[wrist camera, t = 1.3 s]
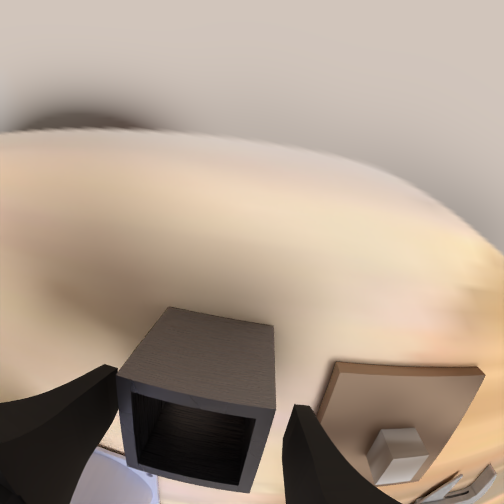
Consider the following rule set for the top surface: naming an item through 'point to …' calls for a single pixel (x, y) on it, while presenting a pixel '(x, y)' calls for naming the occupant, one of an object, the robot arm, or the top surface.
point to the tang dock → (395, 416)
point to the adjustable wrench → (461, 500)
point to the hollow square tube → (199, 399)
